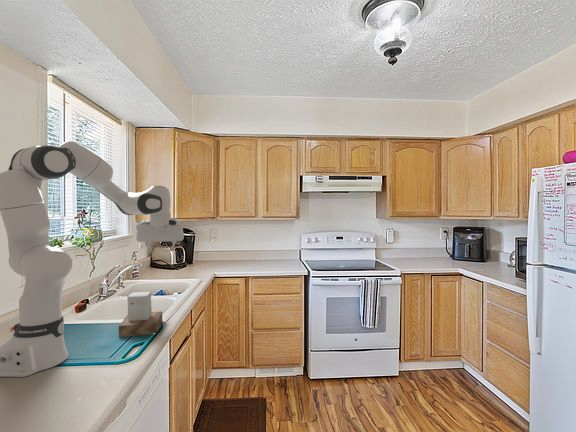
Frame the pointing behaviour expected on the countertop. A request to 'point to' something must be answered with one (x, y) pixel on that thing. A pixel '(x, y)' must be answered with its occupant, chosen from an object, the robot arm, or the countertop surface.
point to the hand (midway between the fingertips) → (160, 251)
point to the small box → (139, 306)
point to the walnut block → (141, 326)
